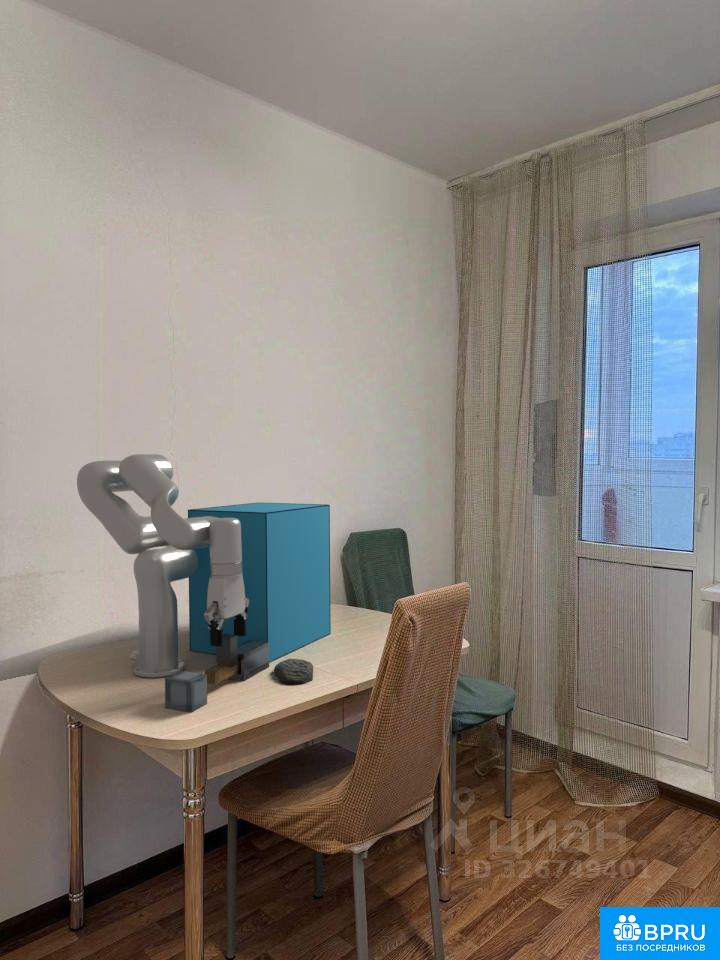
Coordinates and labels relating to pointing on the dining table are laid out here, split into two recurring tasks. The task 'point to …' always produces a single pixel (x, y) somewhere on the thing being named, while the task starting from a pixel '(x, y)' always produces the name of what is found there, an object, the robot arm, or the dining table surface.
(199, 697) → the socket
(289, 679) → the fossil
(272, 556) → the box
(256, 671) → the sleeve
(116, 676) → the dining table surface
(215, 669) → the tan bar piece
